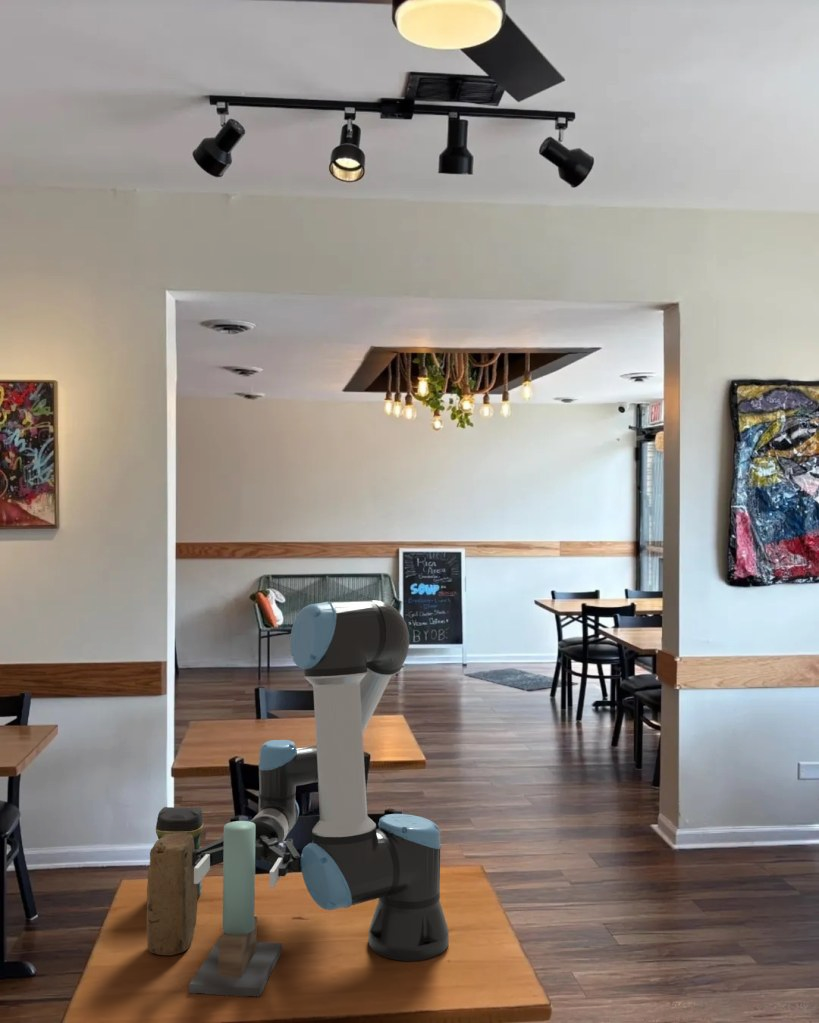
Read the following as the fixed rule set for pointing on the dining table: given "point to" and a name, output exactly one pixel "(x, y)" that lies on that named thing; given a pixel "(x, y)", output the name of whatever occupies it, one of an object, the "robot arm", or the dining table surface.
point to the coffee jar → (181, 825)
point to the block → (171, 895)
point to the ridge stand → (237, 966)
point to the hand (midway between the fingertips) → (233, 877)
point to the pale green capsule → (239, 878)
